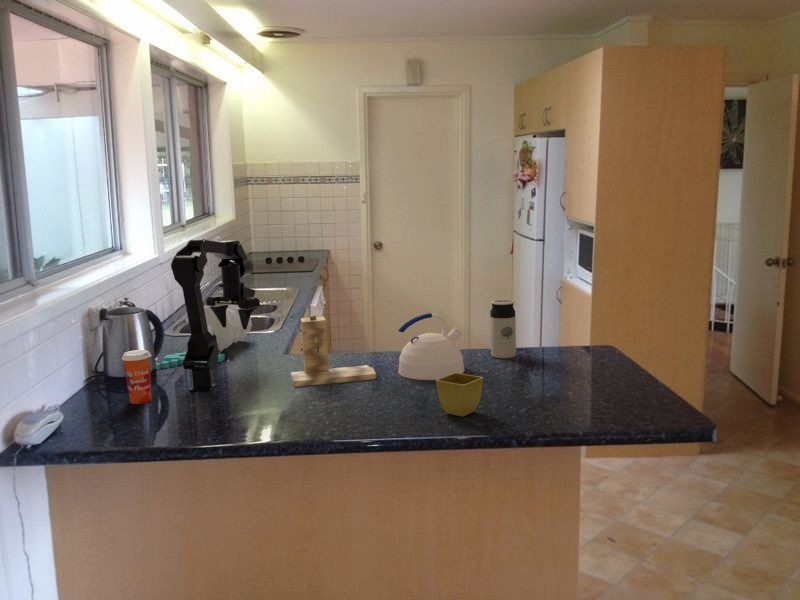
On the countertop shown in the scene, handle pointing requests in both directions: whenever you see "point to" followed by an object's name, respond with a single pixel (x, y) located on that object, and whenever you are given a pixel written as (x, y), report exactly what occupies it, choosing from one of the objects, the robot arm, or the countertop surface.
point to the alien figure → (179, 360)
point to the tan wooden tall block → (314, 344)
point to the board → (333, 376)
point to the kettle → (431, 353)
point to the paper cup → (138, 375)
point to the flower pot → (459, 393)
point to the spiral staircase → (232, 328)
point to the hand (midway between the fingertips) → (234, 328)
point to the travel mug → (503, 329)
